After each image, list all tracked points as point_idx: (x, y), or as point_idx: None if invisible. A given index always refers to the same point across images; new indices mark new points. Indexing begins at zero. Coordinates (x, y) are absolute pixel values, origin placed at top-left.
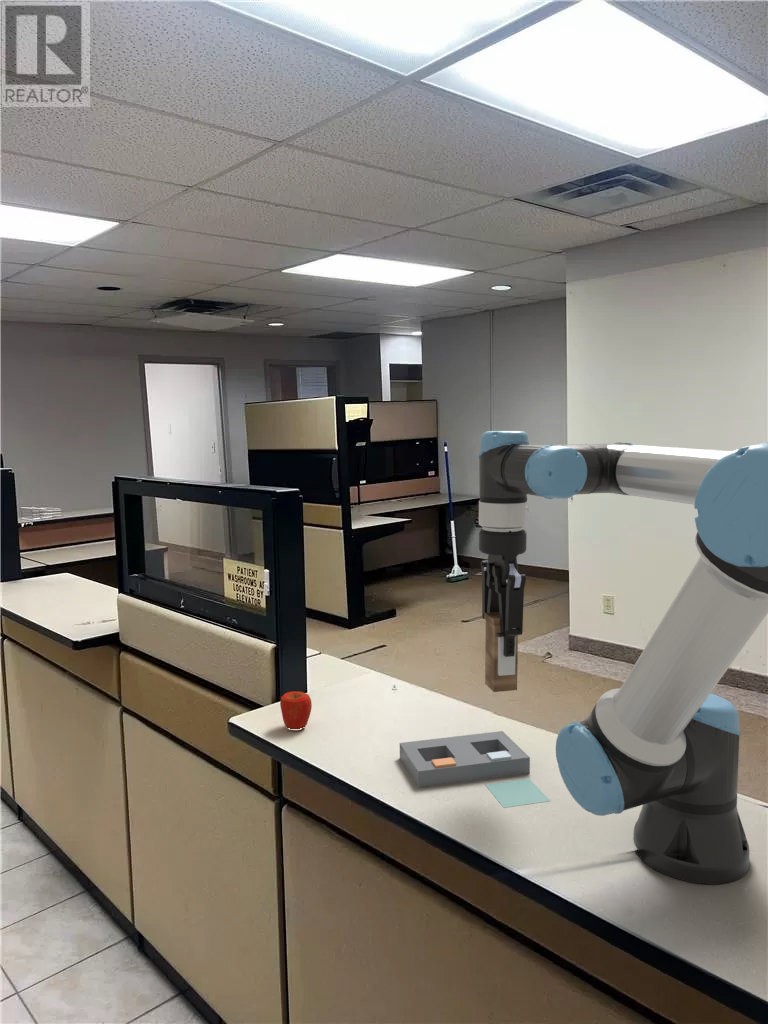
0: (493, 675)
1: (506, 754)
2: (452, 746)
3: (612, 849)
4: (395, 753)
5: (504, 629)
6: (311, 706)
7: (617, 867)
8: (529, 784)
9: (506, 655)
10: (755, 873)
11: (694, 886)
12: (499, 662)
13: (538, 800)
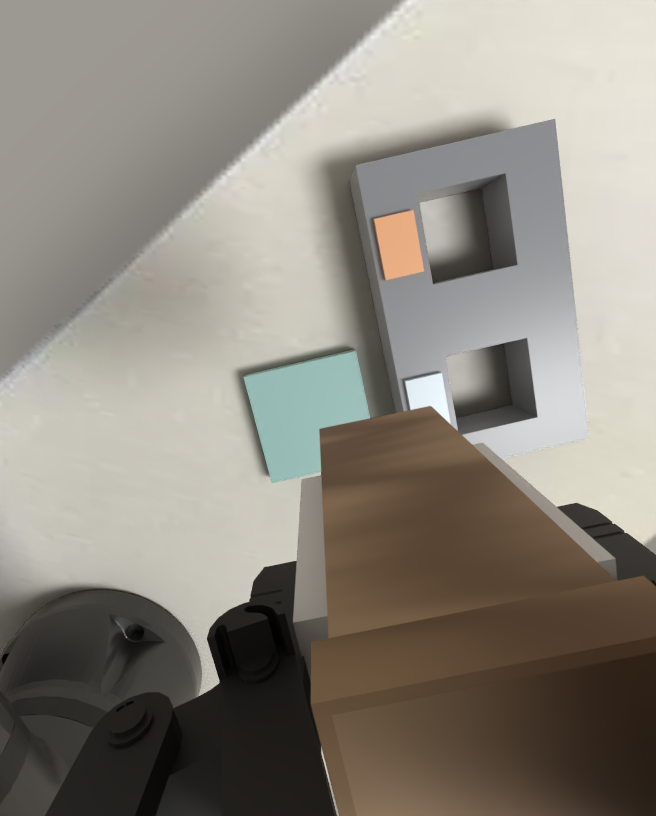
0: (327, 451)
1: None
2: (507, 284)
3: (115, 553)
4: (594, 131)
5: (226, 720)
6: None
7: (54, 545)
8: None
9: (258, 577)
10: None
11: None
12: (301, 511)
13: (273, 458)
